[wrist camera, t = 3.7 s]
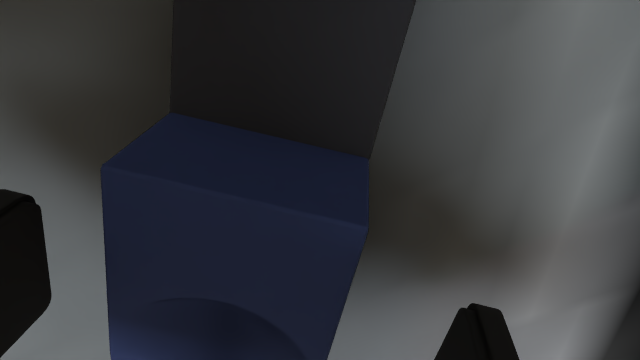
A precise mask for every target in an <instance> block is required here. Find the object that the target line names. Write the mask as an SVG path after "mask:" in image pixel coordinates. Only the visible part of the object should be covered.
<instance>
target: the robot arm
mask: <svg viewBox="0 0 640 360" xmlns="http://www.w3.org/2000/svg"><path fill="white" fill-rule="evenodd" d="M50 301H51V287H50V279H49V271H48V263H47V254H46V246H45V238H44V230H43V222H42V213H41V208H40V206H39V205H37V204H36V203H35V200H34V198H33V197H32V196H30V195H26V194H22V193H18V192H14V191H10V190H6V189H0V357H1V356H2V355H3V354H4V353H5V352H6V351H7V350H8V349H9V348H10V347H11V346H12V345H13V344H14V343H15V342H16V341H17V340H18V339H19V338H20V337H21V336H22V335H23V334H24V332H25V331H26V330H27V329H28V328H29V327H30V326H31V325H32V324H33V323H34V322H35V321H36V320H37V319H38V318H39V317H40V316H41V315H42V314H43V313H44V311H45V310H46V309H47V307H48V306H49V303H50ZM434 360H519V357H518V355H517V352H516V349H515V346H514V344H513V341H512V338H511V336H510V333H509V330H508V327H507V325H506V322H505V319H504V317H503V314H502V312H501V311H500V310H499V309H495V308H491V307H487V306H483V305H479V304H475V303H471V304H470V305H469V306H468V308H467V309H466V308H460V309H459V311H458V313H457V315H456V317H455V319H454V321H453V323H452V325H451V327H450V329H449V331H448V333H447V335H446V337H445V339H444V341H443V343H442V345H441V347H440V349H439V351H438V353H437V355H436V357H435V359H434Z"/></svg>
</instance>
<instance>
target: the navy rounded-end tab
mask: <svg viewBox="0 0 640 360" xmlns="http://www.w3.org/2000/svg"><path fill="white" fill-rule="evenodd" d="M415 2H416V0H174V5H173V33H172V61H171V90H170V113H169V114H168V115H166V116H165V117H164V118H163V119H161V120H160V121H159V122H157V123H156V124H155V125H154V126H152V127H151V128H150V129H148V130H147V131H146V132H144V133H143V134H142V135H141V136H139V137H138V138H137V139H135V140H134V141H133V142H132V143H130V144H129V145H128V146H126V147H125V148H124V149H123V150H121V151H120V152H119V153H117V154H116V155H115V156H113V157H112V158H111V159H110V160H108V161H107V162H106V163H104V164H103V165H102V167H101V188H102V207H103V226H104V245H105V265H106V284H107V303H108V322H109V341H110V354H111V360H327V358H328V355H329V352H330V349H331V346H332V342H333V339H334V336H335V333H336V330H337V327H338V324H339V321H340V318H341V314H342V311H343V308H344V305H345V302H346V299H347V296H348V293H349V290H350V286H351V283H352V280H353V277H354V274H355V271H356V268H357V265H358V262H359V258H360V255H361V252H362V249H363V246H364V243H365V240H366V237H367V234H368V230H369V159H370V156H371V152H372V149H373V145H374V142H375V139H376V135H377V132H378V128H379V125H380V122H381V118H382V115H383V111H384V108H385V105H386V101H387V98H388V94H389V91H390V88H391V84H392V81H393V77H394V74H395V70H396V67H397V64H398V60H399V57H400V53H401V50H402V47H403V43H404V40H405V36H406V33H407V30H408V26H409V23H410V19H411V16H412V13H413V9H414V6H415Z"/></svg>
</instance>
